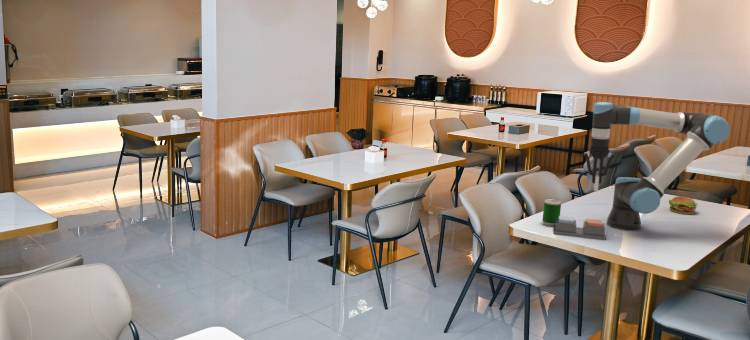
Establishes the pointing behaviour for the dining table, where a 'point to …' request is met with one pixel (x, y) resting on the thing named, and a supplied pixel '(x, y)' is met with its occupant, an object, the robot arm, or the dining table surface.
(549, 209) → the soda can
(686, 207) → the food
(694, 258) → the dining table surface
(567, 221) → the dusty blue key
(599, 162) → the robot arm
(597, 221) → the brick red key
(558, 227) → the key console
